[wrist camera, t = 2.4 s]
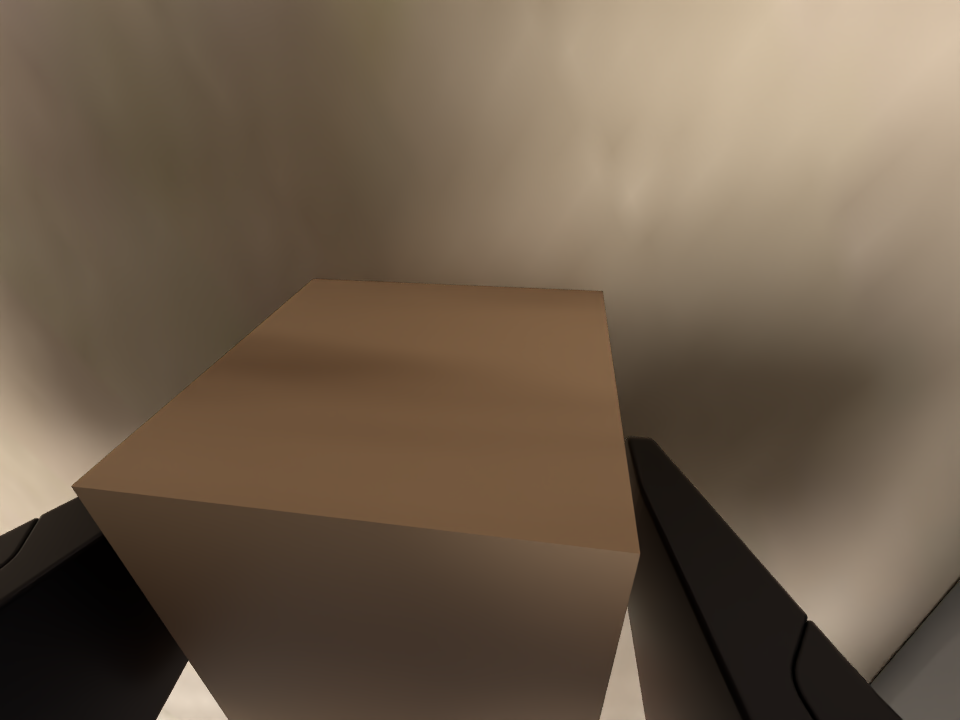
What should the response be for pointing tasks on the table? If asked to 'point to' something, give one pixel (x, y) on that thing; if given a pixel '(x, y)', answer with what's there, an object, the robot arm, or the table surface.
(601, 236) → the table surface
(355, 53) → the table surface
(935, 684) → the tote
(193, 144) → the table surface
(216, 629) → the cube
